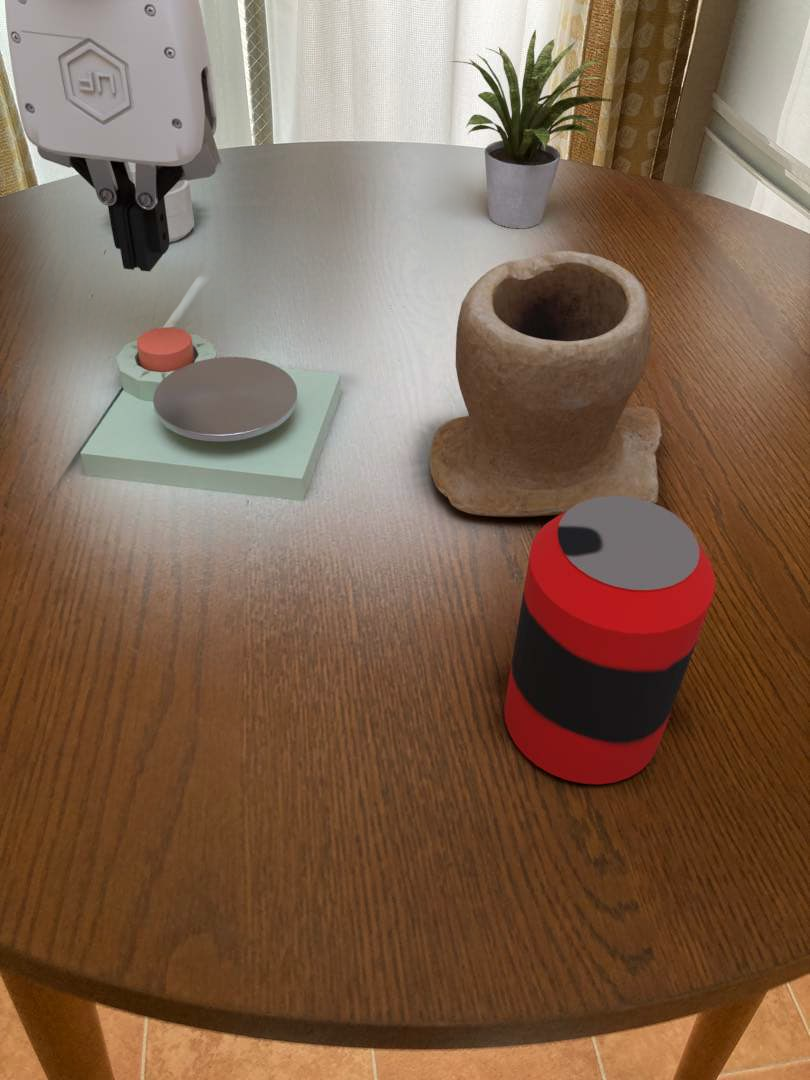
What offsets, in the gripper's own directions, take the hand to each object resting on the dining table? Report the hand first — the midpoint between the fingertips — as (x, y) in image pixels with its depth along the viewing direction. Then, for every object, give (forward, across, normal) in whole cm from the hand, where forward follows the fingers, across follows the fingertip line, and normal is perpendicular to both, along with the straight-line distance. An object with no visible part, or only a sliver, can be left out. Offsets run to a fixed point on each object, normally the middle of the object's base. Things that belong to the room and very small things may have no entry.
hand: (144, 260), depth 58 cm
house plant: (+10, +22, +35) cm, 43 cm away
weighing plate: (+6, +6, -5) cm, 10 cm away
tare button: (+7, +1, 0) cm, 7 cm away
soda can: (+10, +29, -24) cm, 39 cm away
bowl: (+10, -10, +26) cm, 30 cm away
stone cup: (+10, +27, -6) cm, 30 cm away
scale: (+10, +5, -4) cm, 12 cm away
